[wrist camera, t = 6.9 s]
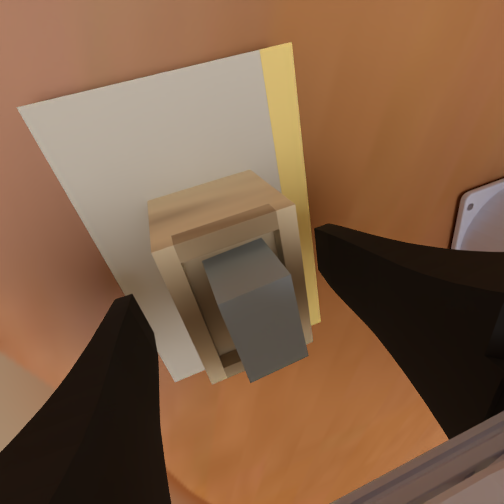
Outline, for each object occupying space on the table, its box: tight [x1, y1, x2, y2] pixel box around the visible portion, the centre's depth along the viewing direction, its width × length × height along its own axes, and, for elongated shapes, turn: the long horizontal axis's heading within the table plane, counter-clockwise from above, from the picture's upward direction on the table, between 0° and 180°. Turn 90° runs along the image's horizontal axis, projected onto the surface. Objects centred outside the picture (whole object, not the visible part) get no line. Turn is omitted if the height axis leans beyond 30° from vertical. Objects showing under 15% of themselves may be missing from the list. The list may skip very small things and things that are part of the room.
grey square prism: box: [202, 238, 308, 383], centre depth 9 cm, size 3×2×2 cm, turn 15°
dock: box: [17, 42, 321, 382], centre depth 14 cm, size 14×9×2 cm, turn 12°
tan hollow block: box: [147, 170, 313, 384], centre depth 12 cm, size 6×4×4 cm
